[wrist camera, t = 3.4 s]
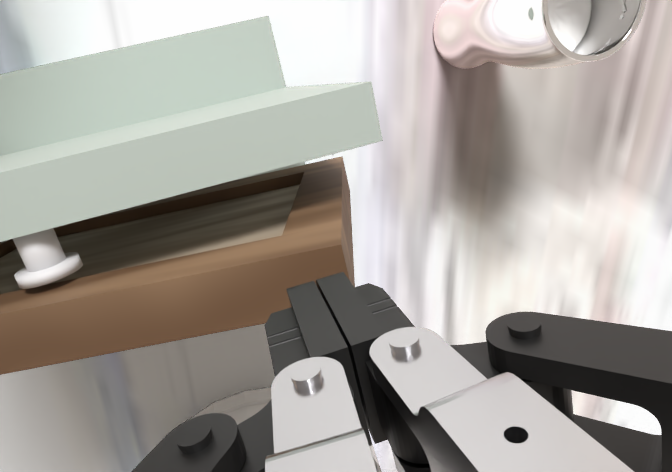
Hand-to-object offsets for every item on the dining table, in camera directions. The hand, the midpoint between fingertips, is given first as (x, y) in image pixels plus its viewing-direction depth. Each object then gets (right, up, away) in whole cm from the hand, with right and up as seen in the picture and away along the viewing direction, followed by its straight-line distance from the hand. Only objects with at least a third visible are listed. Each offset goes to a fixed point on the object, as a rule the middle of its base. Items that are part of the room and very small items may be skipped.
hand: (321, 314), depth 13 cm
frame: (-9, +3, +16) cm, 19 cm away
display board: (-15, +9, +25) cm, 31 cm away
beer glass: (+11, +19, +29) cm, 36 cm away
